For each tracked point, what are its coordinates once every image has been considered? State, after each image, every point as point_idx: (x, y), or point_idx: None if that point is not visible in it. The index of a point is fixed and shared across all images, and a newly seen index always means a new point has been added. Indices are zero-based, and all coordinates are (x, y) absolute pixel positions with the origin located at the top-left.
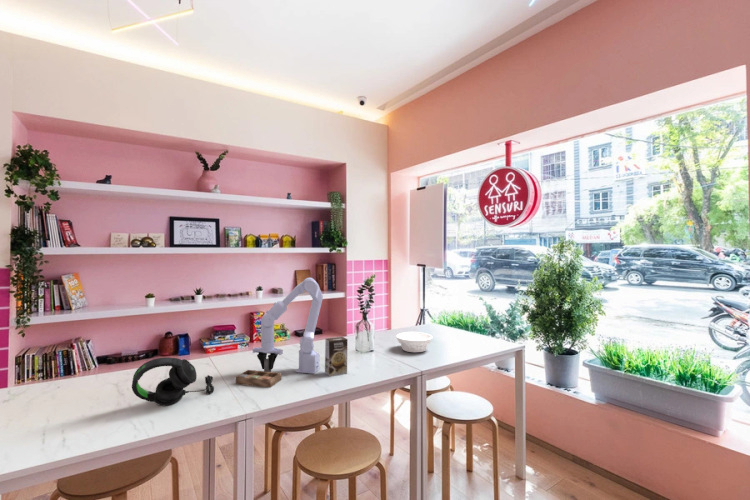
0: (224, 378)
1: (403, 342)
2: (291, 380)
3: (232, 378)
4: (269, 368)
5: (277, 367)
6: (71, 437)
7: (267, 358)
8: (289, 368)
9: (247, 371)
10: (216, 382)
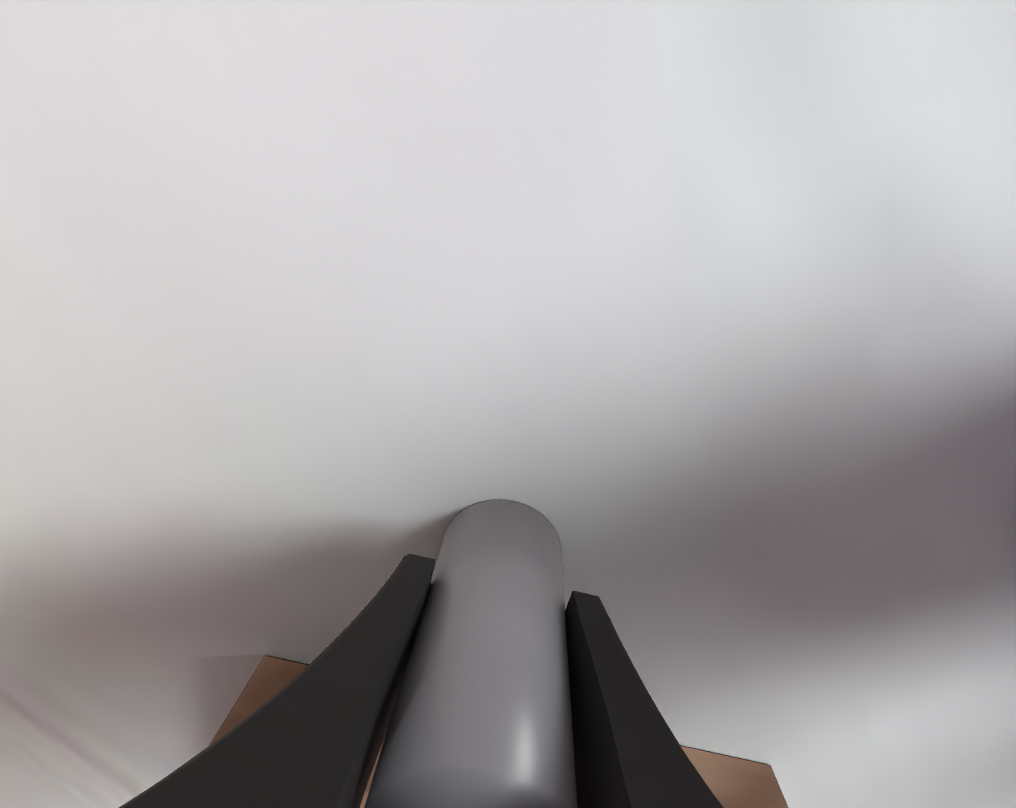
0: (11, 693)
1: None
2: (916, 787)
3: (108, 698)
4: None
5: (613, 233)
6: None
7: (427, 770)
8: (911, 301)
9: None
10: (26, 777)
